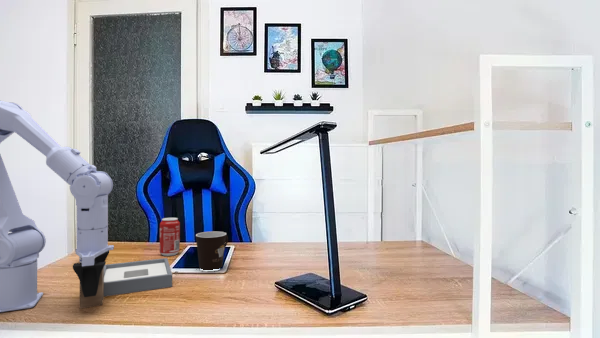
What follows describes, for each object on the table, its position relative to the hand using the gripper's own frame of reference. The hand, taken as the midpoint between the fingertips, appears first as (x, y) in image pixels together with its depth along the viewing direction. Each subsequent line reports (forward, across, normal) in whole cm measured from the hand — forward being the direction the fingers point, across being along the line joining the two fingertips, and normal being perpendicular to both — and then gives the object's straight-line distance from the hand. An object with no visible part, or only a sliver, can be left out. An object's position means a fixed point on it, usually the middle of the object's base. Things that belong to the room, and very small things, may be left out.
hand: (92, 290), depth 71 cm
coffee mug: (+3, +14, -29) cm, 33 cm away
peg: (+3, 0, 0) cm, 3 cm away
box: (+3, +11, -8) cm, 14 cm away
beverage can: (+3, +35, -18) cm, 40 cm away
